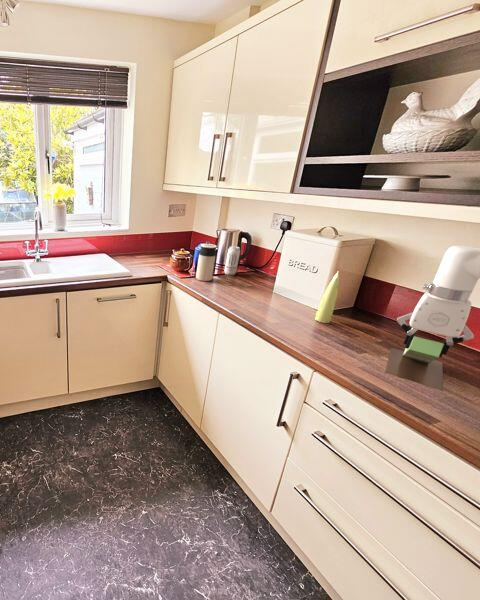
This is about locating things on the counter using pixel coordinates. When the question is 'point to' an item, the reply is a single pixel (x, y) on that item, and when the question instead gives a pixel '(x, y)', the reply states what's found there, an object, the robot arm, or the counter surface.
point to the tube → (328, 301)
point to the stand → (415, 369)
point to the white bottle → (232, 260)
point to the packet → (423, 350)
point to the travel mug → (206, 262)
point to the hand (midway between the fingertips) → (422, 350)
